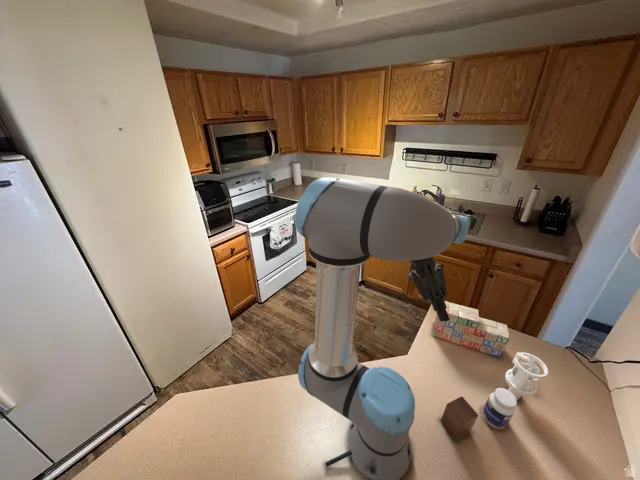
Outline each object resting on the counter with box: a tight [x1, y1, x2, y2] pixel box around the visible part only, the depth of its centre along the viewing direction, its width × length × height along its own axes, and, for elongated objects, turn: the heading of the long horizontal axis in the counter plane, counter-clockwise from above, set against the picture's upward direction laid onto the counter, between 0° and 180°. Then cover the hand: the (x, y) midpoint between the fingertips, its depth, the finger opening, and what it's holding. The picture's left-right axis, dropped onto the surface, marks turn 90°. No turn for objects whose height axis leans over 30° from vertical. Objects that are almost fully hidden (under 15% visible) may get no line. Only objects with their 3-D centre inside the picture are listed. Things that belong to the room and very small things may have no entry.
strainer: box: [504, 351, 549, 400], centre depth 71 cm, size 7×7×15 cm
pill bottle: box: [481, 387, 518, 430], centre depth 67 cm, size 6×6×10 cm
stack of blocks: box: [431, 300, 510, 358], centre depth 89 cm, size 21×6×12 cm, turn 63°
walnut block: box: [440, 396, 479, 441], centre depth 66 cm, size 5×5×8 cm
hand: (444, 320), depth 79 cm, fingers closed
